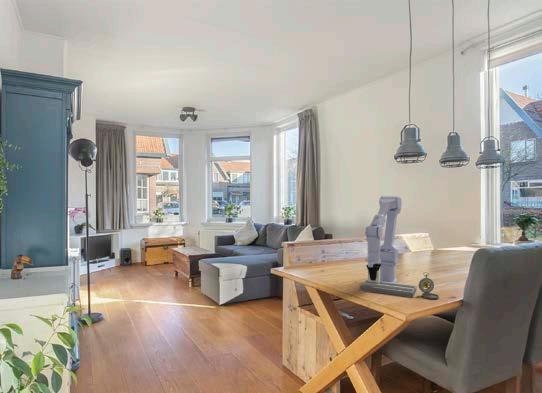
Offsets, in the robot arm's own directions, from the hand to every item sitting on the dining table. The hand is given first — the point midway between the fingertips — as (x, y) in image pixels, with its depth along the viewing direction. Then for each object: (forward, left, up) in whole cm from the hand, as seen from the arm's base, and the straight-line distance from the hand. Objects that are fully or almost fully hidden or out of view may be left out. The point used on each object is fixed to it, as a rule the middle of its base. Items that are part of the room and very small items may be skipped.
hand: (373, 279), depth 161 cm
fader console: (0, +6, -4) cm, 8 cm away
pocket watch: (+1, +24, -4) cm, 24 cm away
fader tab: (0, 0, -2) cm, 2 cm away
